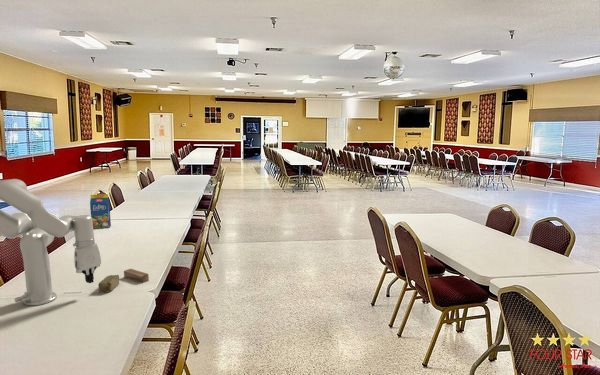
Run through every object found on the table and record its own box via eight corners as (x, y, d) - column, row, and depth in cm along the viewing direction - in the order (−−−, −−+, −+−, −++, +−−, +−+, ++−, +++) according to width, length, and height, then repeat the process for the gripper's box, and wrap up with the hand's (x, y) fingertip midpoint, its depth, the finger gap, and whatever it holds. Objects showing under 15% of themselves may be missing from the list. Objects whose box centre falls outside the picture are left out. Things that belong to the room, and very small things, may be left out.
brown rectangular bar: (141, 283, 206) (141, 276, 205) (124, 277, 213) (123, 270, 213) (148, 280, 209) (148, 273, 208) (131, 275, 216) (130, 268, 216)
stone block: (120, 283, 205) (119, 274, 204) (110, 293, 194) (110, 283, 193) (108, 284, 205) (107, 274, 204) (98, 293, 194) (97, 283, 193)
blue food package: (93, 226, 315) (91, 194, 311) (110, 226, 318) (108, 193, 314) (91, 228, 309) (89, 195, 305) (109, 228, 312) (107, 194, 308)
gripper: (73, 248, 178) (78, 289, 181) (105, 239, 191) (110, 278, 194) (63, 246, 182) (68, 286, 185) (96, 237, 195) (100, 275, 198)
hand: (89, 282), depth 189 cm, fingers closed
